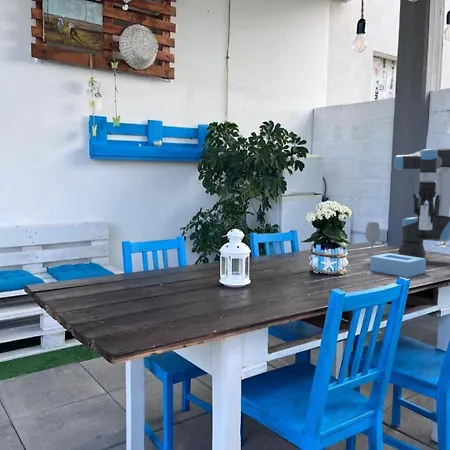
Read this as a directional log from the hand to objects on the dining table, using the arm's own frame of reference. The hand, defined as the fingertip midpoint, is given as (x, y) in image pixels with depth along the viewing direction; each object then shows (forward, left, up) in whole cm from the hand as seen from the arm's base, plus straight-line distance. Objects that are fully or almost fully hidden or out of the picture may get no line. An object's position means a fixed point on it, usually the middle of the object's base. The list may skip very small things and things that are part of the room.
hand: (425, 229), depth 232 cm
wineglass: (-2, -31, -21) cm, 37 cm away
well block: (+14, -6, -21) cm, 26 cm away
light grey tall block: (0, 0, 0) cm, 0 cm away
